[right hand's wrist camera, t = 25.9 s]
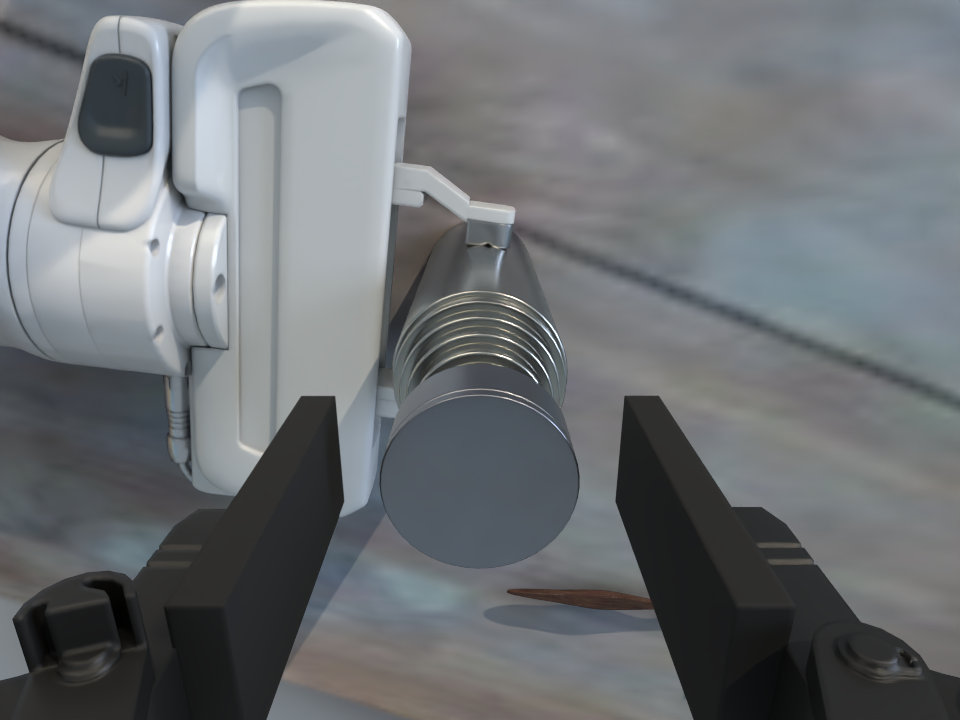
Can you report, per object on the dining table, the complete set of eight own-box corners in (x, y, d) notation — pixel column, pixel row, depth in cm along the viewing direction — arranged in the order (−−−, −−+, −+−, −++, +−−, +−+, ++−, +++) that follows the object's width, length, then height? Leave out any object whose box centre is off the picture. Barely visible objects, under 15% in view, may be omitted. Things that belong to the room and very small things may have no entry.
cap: (507, 547, 16) (511, 597, 14) (359, 472, 15) (344, 515, 13) (603, 418, 14) (619, 456, 13) (447, 329, 14) (443, 357, 12)
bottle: (418, 310, 32) (343, 542, 14) (439, 209, 31) (381, 330, 13) (517, 331, 33) (563, 584, 15) (543, 233, 31) (630, 384, 13)
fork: (509, 567, 38) (511, 590, 36) (771, 592, 38) (786, 616, 36) (504, 602, 39) (505, 626, 37) (760, 626, 39) (774, 652, 37)
